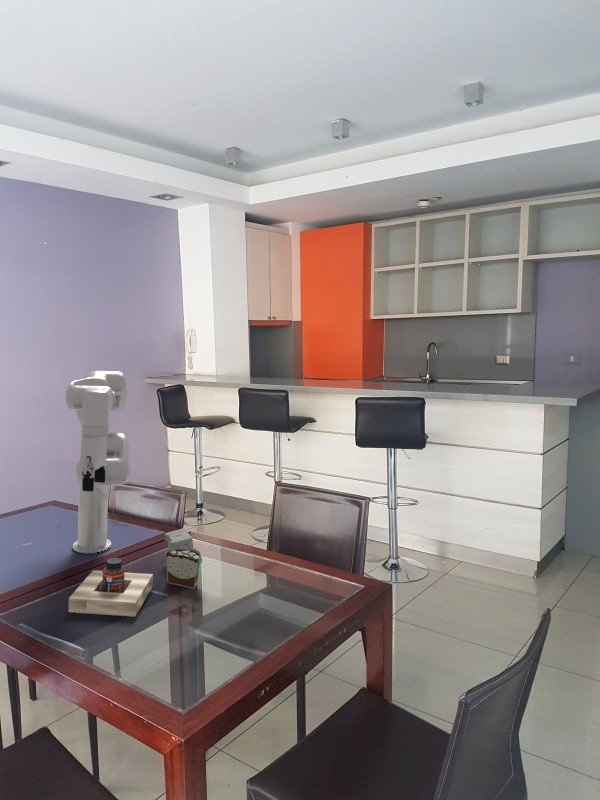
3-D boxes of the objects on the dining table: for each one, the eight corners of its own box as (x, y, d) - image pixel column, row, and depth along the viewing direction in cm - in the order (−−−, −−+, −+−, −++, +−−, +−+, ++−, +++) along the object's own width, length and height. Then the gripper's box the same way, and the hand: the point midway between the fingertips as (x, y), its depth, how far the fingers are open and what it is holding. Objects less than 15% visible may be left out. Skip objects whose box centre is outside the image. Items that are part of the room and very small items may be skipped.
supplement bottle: (111, 605, 163) (112, 566, 162) (97, 599, 166) (98, 561, 165) (128, 597, 168) (129, 560, 167) (114, 591, 171) (115, 554, 170)
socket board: (92, 583, 176) (93, 570, 175) (152, 587, 176) (153, 574, 175) (68, 612, 158) (68, 598, 157) (135, 616, 158) (135, 602, 157)
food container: (208, 582, 182) (209, 551, 180) (198, 590, 176) (200, 558, 175) (173, 574, 186) (174, 543, 184) (163, 581, 180) (164, 550, 178)
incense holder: (162, 559, 196) (163, 529, 195) (187, 556, 200) (188, 527, 199) (170, 571, 187) (171, 540, 186) (195, 568, 191) (196, 537, 190)
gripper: (93, 425, 184) (92, 478, 186) (71, 435, 166) (70, 493, 169) (117, 426, 184) (115, 479, 186) (97, 437, 166) (96, 495, 169)
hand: (94, 486), depth 177 cm, fingers open, 9 cm apart
